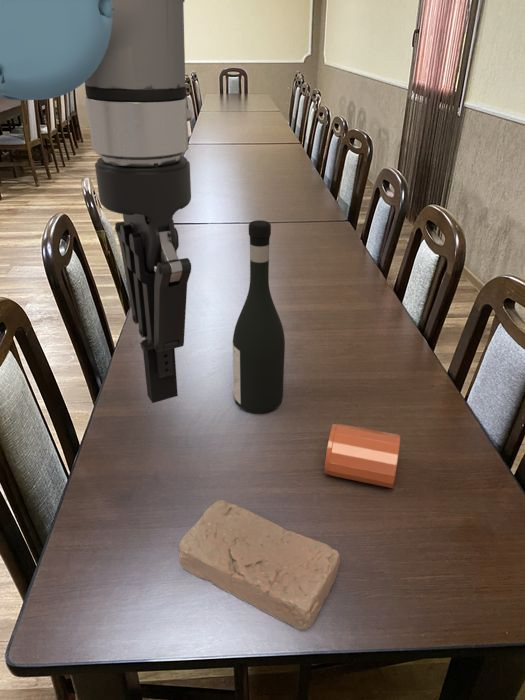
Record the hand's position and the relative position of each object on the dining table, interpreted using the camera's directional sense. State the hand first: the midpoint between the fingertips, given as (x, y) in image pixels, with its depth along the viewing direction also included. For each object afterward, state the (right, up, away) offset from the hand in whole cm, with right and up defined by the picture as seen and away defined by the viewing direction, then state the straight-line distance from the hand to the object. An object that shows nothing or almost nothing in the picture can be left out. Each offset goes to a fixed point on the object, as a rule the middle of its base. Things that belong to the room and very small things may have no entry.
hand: (162, 395), depth 55 cm
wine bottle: (+10, -4, +33) cm, 35 cm away
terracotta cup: (+19, -9, +18) cm, 28 cm away
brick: (+10, -21, +6) cm, 24 cm away
